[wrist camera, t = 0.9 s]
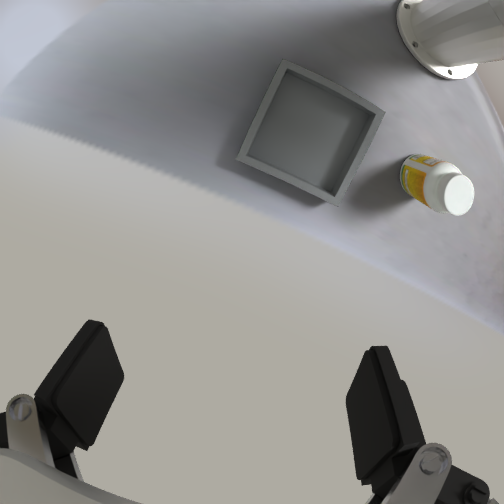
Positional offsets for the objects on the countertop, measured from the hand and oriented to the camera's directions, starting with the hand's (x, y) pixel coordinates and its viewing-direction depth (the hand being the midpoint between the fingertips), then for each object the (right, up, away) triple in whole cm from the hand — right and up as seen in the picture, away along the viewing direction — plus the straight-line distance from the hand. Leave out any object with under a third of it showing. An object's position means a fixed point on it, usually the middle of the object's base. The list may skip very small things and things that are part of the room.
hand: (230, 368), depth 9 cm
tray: (+7, +17, +19) cm, 27 cm away
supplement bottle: (+21, +13, +20) cm, 32 cm away
